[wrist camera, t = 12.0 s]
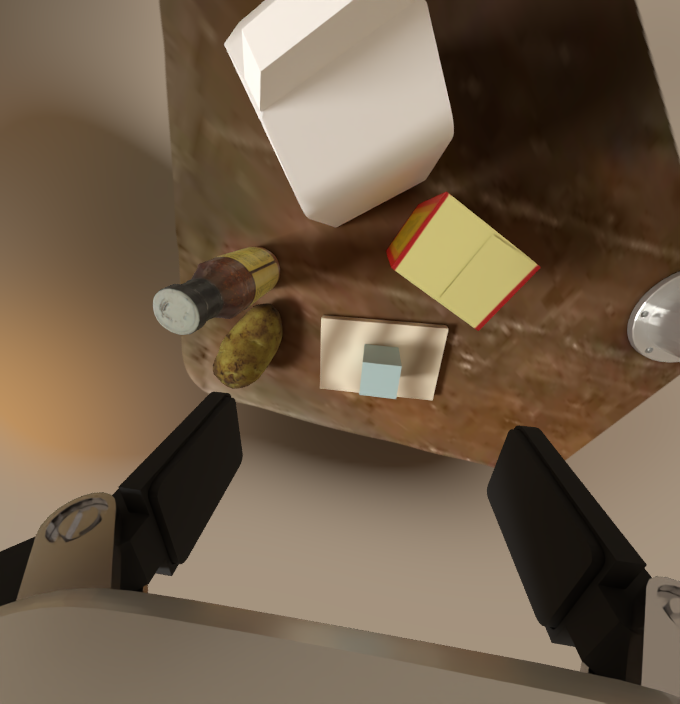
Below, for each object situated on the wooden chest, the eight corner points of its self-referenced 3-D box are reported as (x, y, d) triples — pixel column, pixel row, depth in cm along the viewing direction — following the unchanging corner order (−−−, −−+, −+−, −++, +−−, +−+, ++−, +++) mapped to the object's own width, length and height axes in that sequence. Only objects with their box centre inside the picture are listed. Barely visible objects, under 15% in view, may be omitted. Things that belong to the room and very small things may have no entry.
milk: (336, 227, 37) (263, 236, 13) (293, 131, 33) (88, -91, 10) (425, 180, 33) (537, 81, 10) (389, 66, 30) (435, -520, 6)
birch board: (446, 325, 40) (448, 328, 39) (430, 395, 46) (432, 400, 44) (323, 315, 42) (321, 318, 41) (321, 383, 47) (319, 388, 46)
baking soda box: (386, 250, 37) (391, 268, 23) (418, 204, 35) (447, 191, 20) (441, 291, 39) (479, 332, 24) (476, 249, 36) (543, 267, 21)
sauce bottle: (232, 256, 40) (115, 284, 22) (269, 238, 38) (175, 251, 20) (255, 298, 42) (166, 354, 24) (291, 282, 41) (223, 330, 23)
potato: (306, 334, 44) (292, 356, 37) (253, 377, 48) (231, 404, 41) (269, 293, 42) (246, 308, 34) (217, 341, 46) (187, 363, 39)
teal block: (398, 347, 41) (401, 366, 36) (393, 376, 43) (396, 399, 38) (364, 344, 42) (362, 362, 36) (361, 373, 44) (359, 394, 38)
